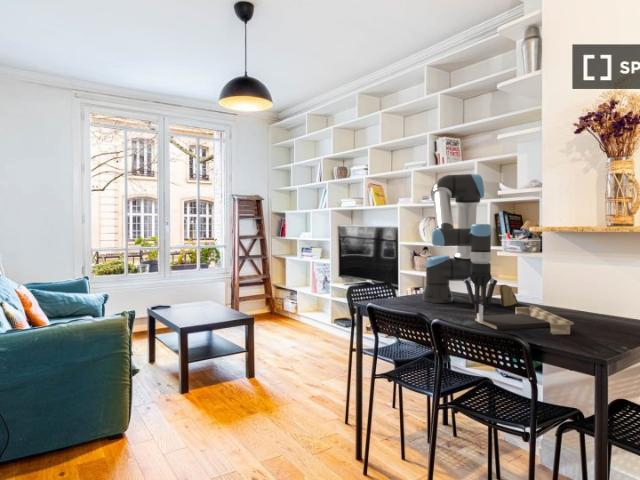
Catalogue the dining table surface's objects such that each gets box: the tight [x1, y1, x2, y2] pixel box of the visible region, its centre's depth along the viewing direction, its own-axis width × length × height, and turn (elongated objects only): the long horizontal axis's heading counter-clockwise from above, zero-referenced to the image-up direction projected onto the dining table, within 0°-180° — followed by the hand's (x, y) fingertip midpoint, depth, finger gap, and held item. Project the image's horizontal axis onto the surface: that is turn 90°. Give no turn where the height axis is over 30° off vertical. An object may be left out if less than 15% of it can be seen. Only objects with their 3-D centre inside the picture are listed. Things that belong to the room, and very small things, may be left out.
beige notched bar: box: [514, 304, 574, 335], centre depth 171 cm, size 31×8×4 cm, turn 178°
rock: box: [499, 284, 519, 307], centre depth 210 cm, size 11×9×10 cm
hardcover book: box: [473, 313, 551, 331], centre depth 172 cm, size 16×23×2 cm
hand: (479, 320), depth 171 cm, fingers closed
